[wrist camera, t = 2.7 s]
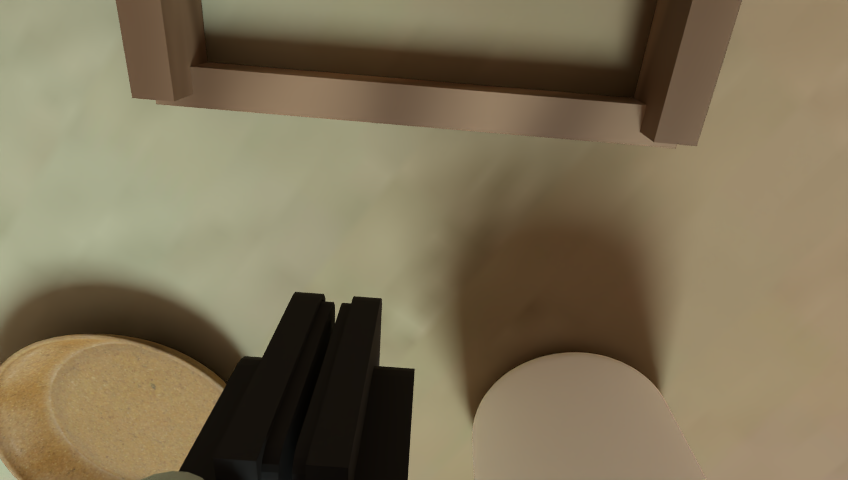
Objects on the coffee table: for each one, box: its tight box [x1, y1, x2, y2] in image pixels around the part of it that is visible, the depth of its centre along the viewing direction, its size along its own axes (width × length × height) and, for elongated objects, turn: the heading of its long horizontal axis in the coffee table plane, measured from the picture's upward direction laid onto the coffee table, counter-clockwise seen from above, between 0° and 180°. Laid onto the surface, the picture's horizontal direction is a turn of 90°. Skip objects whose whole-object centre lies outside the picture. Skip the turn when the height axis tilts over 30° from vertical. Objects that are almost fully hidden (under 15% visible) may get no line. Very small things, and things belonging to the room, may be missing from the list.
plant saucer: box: [0, 334, 226, 480], centre depth 28 cm, size 15×15×3 cm
